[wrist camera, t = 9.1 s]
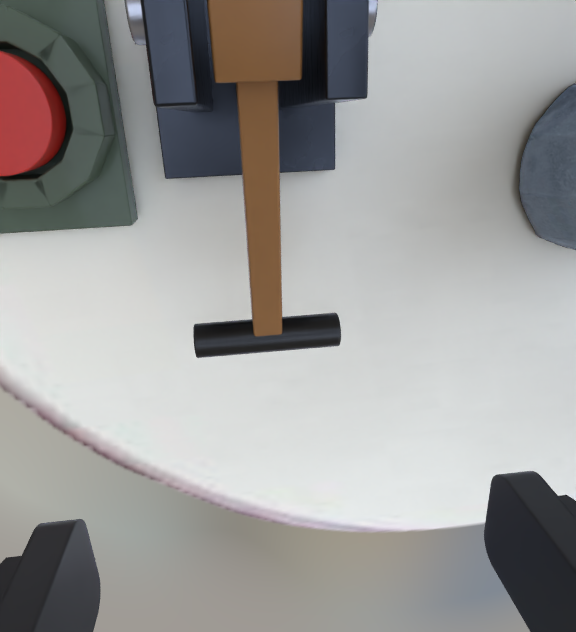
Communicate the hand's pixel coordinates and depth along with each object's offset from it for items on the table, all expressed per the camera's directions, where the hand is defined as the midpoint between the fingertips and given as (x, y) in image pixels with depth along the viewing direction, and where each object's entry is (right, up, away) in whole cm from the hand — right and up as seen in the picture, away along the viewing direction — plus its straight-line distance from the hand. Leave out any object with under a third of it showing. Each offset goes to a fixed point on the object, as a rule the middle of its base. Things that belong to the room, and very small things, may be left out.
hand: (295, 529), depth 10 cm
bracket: (-2, +16, +13) cm, 21 cm away
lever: (-1, +9, +7) cm, 11 cm away
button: (-11, +12, +10) cm, 19 cm away
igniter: (-11, +13, +13) cm, 22 cm away
